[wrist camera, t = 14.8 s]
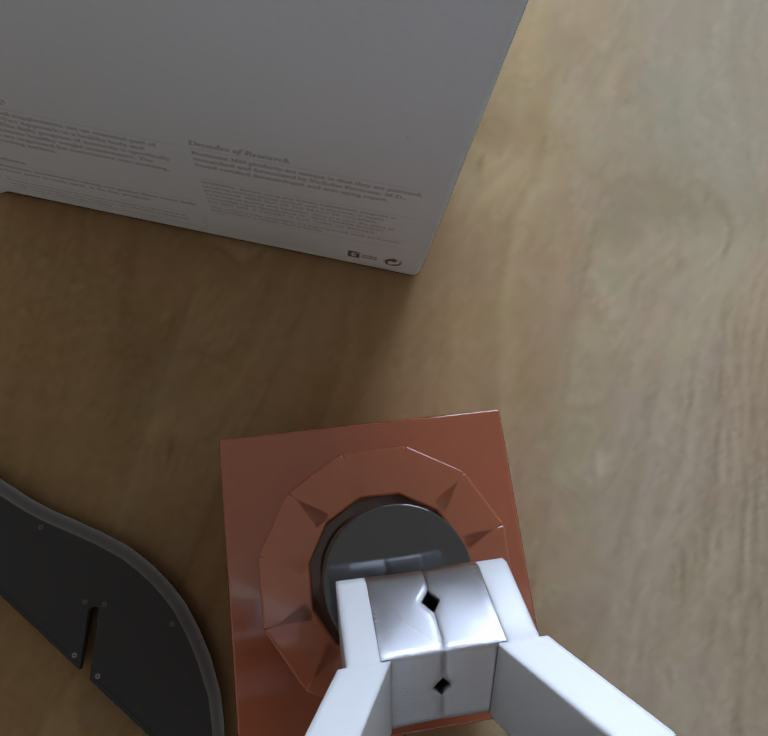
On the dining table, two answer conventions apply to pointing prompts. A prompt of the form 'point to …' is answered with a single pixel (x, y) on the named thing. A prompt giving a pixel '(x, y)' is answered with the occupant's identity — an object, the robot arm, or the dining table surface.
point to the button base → (320, 524)
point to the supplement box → (253, 114)
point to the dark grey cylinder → (389, 547)
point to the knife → (109, 617)
